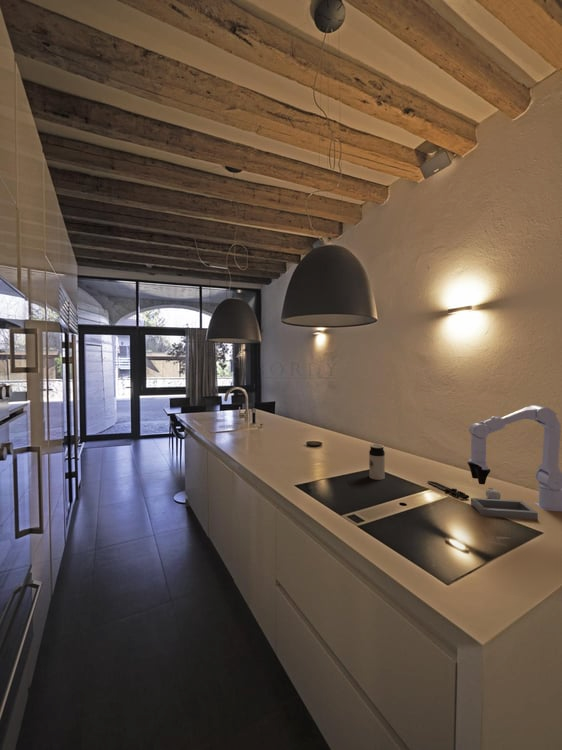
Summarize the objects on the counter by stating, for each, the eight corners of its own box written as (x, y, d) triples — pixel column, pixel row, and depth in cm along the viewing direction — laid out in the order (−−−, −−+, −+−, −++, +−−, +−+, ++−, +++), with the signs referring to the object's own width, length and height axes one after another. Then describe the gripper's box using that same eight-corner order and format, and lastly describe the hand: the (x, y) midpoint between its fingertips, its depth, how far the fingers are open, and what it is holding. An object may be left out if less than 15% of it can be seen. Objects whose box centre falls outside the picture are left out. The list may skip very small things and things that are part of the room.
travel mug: (381, 475, 187) (381, 443, 186) (386, 480, 179) (386, 447, 178) (367, 476, 186) (367, 444, 186) (372, 481, 178) (372, 447, 178)
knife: (425, 482, 176) (425, 479, 176) (436, 482, 177) (436, 479, 177) (458, 499, 151) (458, 495, 151) (471, 498, 152) (471, 495, 152)
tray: (521, 507, 144) (521, 500, 143) (537, 520, 132) (537, 512, 132) (470, 504, 147) (470, 497, 147) (481, 516, 135) (482, 509, 135)
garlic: (482, 498, 154) (482, 487, 154) (488, 496, 157) (488, 485, 157) (497, 503, 149) (497, 491, 149) (502, 500, 152) (503, 488, 152)
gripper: (463, 446, 157) (463, 475, 157) (474, 454, 142) (474, 486, 143) (479, 447, 155) (479, 476, 156) (493, 455, 141) (492, 487, 141)
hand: (478, 481), depth 149 cm, fingers open, 7 cm apart
